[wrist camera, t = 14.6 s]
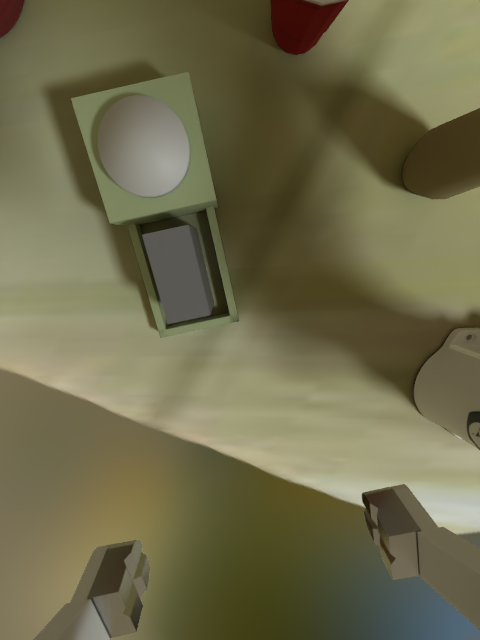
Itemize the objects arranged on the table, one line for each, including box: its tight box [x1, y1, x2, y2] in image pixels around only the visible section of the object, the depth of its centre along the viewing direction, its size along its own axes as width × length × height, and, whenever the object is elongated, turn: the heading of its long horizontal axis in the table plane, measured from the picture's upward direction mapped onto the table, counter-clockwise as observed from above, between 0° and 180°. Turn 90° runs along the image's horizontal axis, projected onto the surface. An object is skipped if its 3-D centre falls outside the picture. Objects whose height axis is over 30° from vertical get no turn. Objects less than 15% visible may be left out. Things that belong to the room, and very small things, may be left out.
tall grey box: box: [142, 225, 214, 324], centre depth 34 cm, size 5×10×8 cm, turn 12°
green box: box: [71, 72, 239, 338], centre depth 33 cm, size 12×27×7 cm, turn 12°
